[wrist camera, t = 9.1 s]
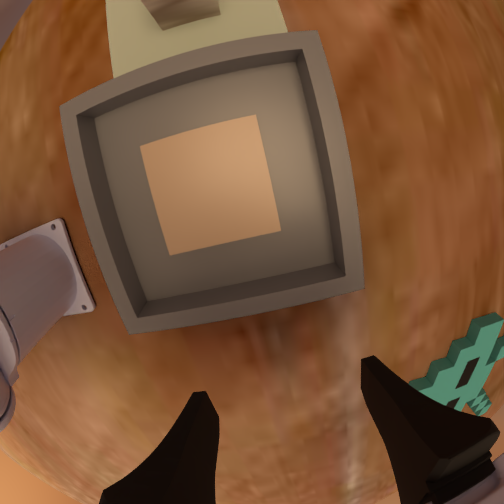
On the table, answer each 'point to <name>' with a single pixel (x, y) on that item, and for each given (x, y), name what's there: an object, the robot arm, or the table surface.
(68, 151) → the box
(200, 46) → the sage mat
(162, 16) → the brown block
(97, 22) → the table surface
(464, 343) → the alien figure
